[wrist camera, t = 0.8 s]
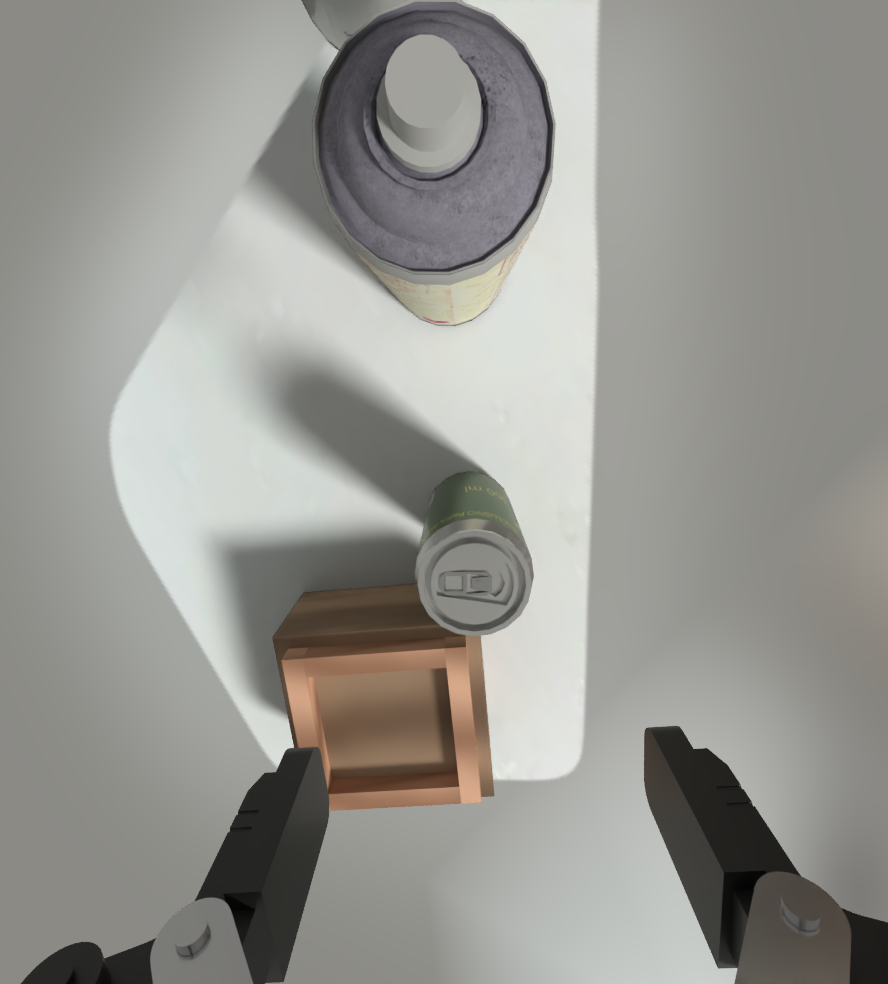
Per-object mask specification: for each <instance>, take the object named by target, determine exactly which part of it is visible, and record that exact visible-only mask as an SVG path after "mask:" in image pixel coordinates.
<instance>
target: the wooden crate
mask: <svg viewBox="0 0 888 984" xmlns="http://www.w3.org/2000/svg"><path fill="white" fill-rule="evenodd" d="M273 642H274V647H275V652H276V657H277V662H278V668H279V673H280V678H281V683H282V688H283V693H284V698H285V703H286V708H287V713H288V718H289V723H290V729H291V734H292V739H293V744H294V748H304V747H318V748H319V749H320V752H321V756H322V762H323V767H324V772H325V777H326V783H327V788H328V793H329V811H335V810H350V809H351V810H353V809H370V808H388V807H406V806H422V805H423V806H424V805H441V804H460V803H478V802H481V797H488V796H494V788H493V775H492V763H491V750H490V738H489V726H488V715H487V704H486V692H485V681H484V670H483V659H482V648H481V636H469V635H462V634H456V633H454V632H452V631H450V630H448V629H446V628H444V627H442V626H440V625H439V624H438V623H437V622H436V621H435V620H434V619H433V618H432V617H431V616H429V614H428V613H427V611H426V609H425V607H424V606H423V604H422V602H421V600H420V596H419V594H418V592H417V587H416V584H409V585H396V586H383V587H371V588H358V589H345V590H333V591H320V592H307V593H303V594H302V595H301V597H300V598H299V600H298V601H297V603H296V604H295V606H294V607H293V609H292V610H291V611H290V613H289V614H288V616H287V617H286V619H285V620H284V622H283V623H282V624H281V626H280V627H279V629H278V630H277V632H276V633H275V635H274V636H273Z"/></svg>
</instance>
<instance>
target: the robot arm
mask: <svg viewBox="0 0 888 984" xmlns="http://www.w3.org/2000/svg"><path fill="white" fill-rule="evenodd" d="M408 1H411V0H302V2H303V4H304V6H305V8H306V9H307V12H308V14H309V16H310V18H311V19H312V22H313V23H314V24H315V25H316V27H317V28H318V29H319V30H320V32H321V33H322V34H323V35H324V37H325V38H326V39H327V40H328V41H330V42H331V43H332V44H333V45H334V46H336V47H337V48H338V49H339V50H340V49H341V47H342V45H343V44H344V42H345V41H346V40H347V39H348V38H349V37H350V36H352V35H353V34H354V33H355V32H356V31H357V30H358V29H360V28H361V27H362V26H363V25H364V24H365V23H366V22H368V21H369V20H370V19H371V18H372V17H373V16H374V15H376V14H377V13H380V12H382V11H385V10H387V9H390V8H393V7H395V6H398V5H400V4H403V3H406V2H408ZM459 1H461V2H462V0H459ZM644 738H645V739H644V745H645V746H644V782H645V789H646V795H647V799H648V803H649V806H650V809H651V811H652V814H653V816H654V818H655V821H656V823H657V825H658V828H659V830H660V833H661V835H662V837H663V839H664V842H665V844H666V847H667V849H668V851H669V854H670V856H671V858H672V861H673V863H674V865H675V868H676V870H677V873H678V875H679V877H680V880H681V882H682V884H683V887H684V889H685V891H686V894H687V896H688V898H689V901H690V903H691V906H692V908H693V910H694V912H695V915H696V917H697V920H698V922H699V924H700V927H701V929H702V931H703V934H704V936H705V939H706V941H707V943H708V946H709V948H710V950H711V953H712V955H713V957H714V960H715V962H716V965H717V967H718V968H737V974H736V979H735V984H888V923H887V922H884V921H880V920H876V919H872V918H868V917H864V916H861V915H857V914H855V913H852V912H849V911H847V910H845V909H842V908H841V907H840V906H839V905H838V904H837V902H836V901H835V900H834V899H833V898H832V897H831V896H830V895H829V894H828V893H827V892H826V891H824V890H823V889H822V888H821V887H819V886H818V885H816V884H815V883H813V882H811V881H809V880H807V879H805V878H803V877H801V875H800V874H799V873H798V871H797V870H796V868H795V867H794V865H793V864H792V862H791V861H790V859H789V858H788V857H787V855H786V853H785V852H784V850H783V849H782V847H781V846H780V844H779V843H778V841H777V840H776V838H775V837H774V835H773V834H772V832H771V831H770V829H769V827H768V826H767V824H766V823H765V821H764V820H763V818H762V817H761V815H760V814H759V812H758V811H757V809H756V808H755V806H754V807H753V805H752V802H751V800H750V799H749V797H748V796H747V794H746V792H745V791H744V790H743V789H742V788H741V785H740V783H739V782H738V780H737V779H736V777H735V776H734V774H733V773H732V771H731V770H730V768H729V767H728V765H727V764H726V763H724V762H723V761H722V760H720V759H719V758H718V757H717V756H716V755H715V754H713V753H712V752H711V751H710V750H708V749H707V748H705V749H693V747H692V746H691V744H690V742H689V741H688V739H687V737H686V736H685V734H684V732H683V731H682V729H681V728H680V727H678V726H668V727H652V728H646V730H645V736H644ZM328 818H329V793H328V788H327V783H326V777H325V772H324V767H323V762H322V756H321V752H320V749H319V748H318V747H304V748H289V749H287V750H286V751H285V753H284V755H283V758H282V760H281V762H280V764H279V767H278V769H277V771H276V772H273V773H264V774H263V775H262V776H261V778H260V779H259V780H258V781H257V782H256V783H255V784H254V785H253V786H252V787H251V788H250V789H249V790H248V792H247V794H246V796H245V798H244V800H243V802H242V805H241V807H240V809H239V811H238V815H236V817H235V819H234V821H233V823H232V825H231V827H230V832H229V833H227V836H226V838H225V840H224V842H223V844H222V846H221V848H220V850H219V852H218V854H217V856H216V858H215V860H214V862H213V865H212V867H211V869H210V871H209V873H208V875H207V877H206V879H205V882H204V883H203V885H202V887H201V890H200V891H199V894H198V896H197V898H196V899H195V901H194V902H192V903H190V904H188V905H187V906H185V907H184V908H182V909H181V910H180V911H178V912H177V913H176V914H175V915H173V916H172V917H171V918H170V919H169V920H168V922H167V923H166V924H165V925H164V927H163V928H162V929H161V931H160V932H159V934H158V935H157V937H156V938H155V939H153V940H151V941H149V942H147V943H144V944H142V945H139V946H136V947H134V948H131V949H128V950H126V951H123V952H121V953H118V954H115V955H113V956H110V957H107V958H105V959H104V957H103V954H102V952H101V949H100V948H99V947H98V946H97V945H96V944H94V943H90V942H80V943H75V944H72V945H69V946H67V947H65V948H63V949H60V950H59V951H57V952H55V953H54V954H52V955H51V956H49V957H48V958H47V959H45V960H44V961H43V962H41V963H40V964H39V965H38V966H37V967H36V968H35V969H34V970H33V971H32V972H31V973H30V974H29V975H28V976H27V977H26V978H25V980H24V981H23V982H22V983H21V984H265V983H271V982H284V978H285V975H286V971H287V968H288V964H289V961H290V957H291V953H292V950H293V946H294V943H295V939H296V935H297V932H298V928H299V925H300V921H301V917H302V914H303V910H304V907H305V902H306V899H307V896H308V892H309V889H310V885H311V882H312V878H313V874H314V871H315V867H316V864H317V860H318V856H319V853H320V849H321V846H322V842H323V839H324V835H325V831H326V828H327V824H328Z"/></svg>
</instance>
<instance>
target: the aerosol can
mask: <svg viewBox="0 0 888 984" xmlns="http://www.w3.org/2000/svg"><path fill="white" fill-rule="evenodd" d="M555 125H556V124H555V119H554V115H553V110H552V105H551V101H550V96H549V92H548V87H547V82H546V80H545V78H544V76H543V74H542V73H541V71H540V69H539V67H538V65H537V64H536V62H535V60H534V58H533V57H532V55H531V53H530V51H529V49H528V48H527V46H526V44H525V43H524V42H523V41H522V40H521V39H520V38H519V37H518V36H517V35H516V34H514V33H513V32H512V31H511V30H510V29H509V28H508V27H507V26H506V25H505V24H503V23H502V22H501V21H500V20H499V19H498V18H497V17H496V16H495V15H494V14H491V13H489V12H486V11H484V10H481V9H479V8H476V7H474V6H471V5H469V4H466V3H464V2H461V1H459V0H411V1H408V2H406V3H403V4H400V5H398V6H395V7H393V8H390V9H387V10H385V11H382V12H380V13H377V14H376V15H374V16H373V17H372V18H371V19H370V20H369V21H368V22H366V23H365V24H364V25H363V26H362V27H361V28H360V29H358V30H357V31H356V32H355V33H354V34H353V35H352V36H350V37H349V38H348V39H347V40H346V41H345V42H344V44H343V45H342V47H341V49H340V50H339V52H338V54H337V55H336V57H335V59H334V60H333V62H332V64H331V65H330V67H329V69H328V71H327V72H326V74H325V76H324V77H323V80H322V84H321V88H320V92H319V96H318V100H317V104H316V108H315V112H314V116H313V120H312V129H313V157H314V167H315V170H316V173H317V176H318V179H319V182H320V185H321V189H322V192H323V195H324V198H325V201H326V204H327V207H328V210H329V214H330V217H331V218H332V220H333V221H334V223H335V224H336V225H337V227H338V228H339V230H340V231H341V233H342V234H343V236H344V237H345V239H346V240H347V242H348V243H349V245H350V246H351V248H352V249H353V250H354V251H355V252H356V253H357V254H358V256H359V257H360V258H361V259H362V260H363V261H364V262H365V263H366V264H367V265H368V267H369V268H370V269H371V270H372V271H373V272H374V273H375V274H376V275H377V276H378V278H379V279H380V280H381V281H382V282H383V283H384V284H385V285H386V286H387V287H388V288H389V290H390V291H391V292H392V293H393V294H394V295H395V296H396V297H397V298H398V299H399V301H400V302H401V303H402V304H403V305H404V306H405V307H406V308H407V309H408V310H409V311H411V312H412V313H413V314H414V315H416V316H417V317H418V318H419V319H421V320H424V321H426V322H429V323H432V324H435V325H437V326H456V325H459V324H462V323H466V322H469V321H472V320H473V319H475V318H476V317H477V316H479V315H480V314H482V313H483V312H484V311H486V310H487V309H488V307H489V306H490V305H491V303H492V302H493V300H494V299H495V298H496V296H497V295H498V293H499V291H500V290H501V288H502V286H503V284H504V282H505V280H506V278H507V277H508V275H509V273H510V271H511V269H512V267H513V265H514V263H515V262H516V260H517V258H518V256H519V254H520V252H521V250H522V249H523V247H524V245H525V243H526V241H527V239H528V237H529V235H530V234H531V232H532V230H533V228H534V226H535V224H536V222H537V220H538V218H539V215H540V212H541V210H542V207H543V204H544V201H545V198H546V196H547V193H548V190H549V187H550V185H551V182H552V169H553V155H554V140H555Z"/></svg>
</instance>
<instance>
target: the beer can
mask: <svg viewBox="0 0 888 984" xmlns="http://www.w3.org/2000/svg"><path fill="white" fill-rule="evenodd" d="M414 576H415V581H416V587H417V592H418V594H419V596H420V600H421V602H422V604H423V606H424V607H425V609H426V611H427V613H428V614H429V616H431V617H432V618H433V619H434V620H435V621H436V622H437V623H438V624H439V625H440V626H442V627H444V628H446V629H448V630H450V631H452V632H454V633H456V634H462V635H469V636H480V635H488V634H492V633H495V632H497V631H499V630H501V629H504V628H506V627H508V626H509V625H510V624H511V623H512V622H513V621H514V620H516V619H517V618H518V617H519V616H520V615H521V613H522V611H523V610H524V608H525V606H526V605H527V603H528V601H529V596H530V591H531V587H532V582H533V577H534V574H533V566H532V559H531V556H530V553H529V551H528V548H527V545H526V543H525V540H524V537H523V535H522V532H521V529H520V527H519V524H518V521H517V519H516V516H515V513H514V511H513V508H512V506H511V503H510V500H509V498H508V496H507V494H506V492H505V490H504V488H503V487H502V486H501V485H500V484H499V483H498V482H497V481H496V480H495V479H493V478H491V477H489V476H487V475H485V474H483V473H476V472H470V471H469V472H463V473H457V474H454V475H452V476H450V477H448V478H446V479H445V480H444V481H443V482H442V483H441V484H439V485H438V486H437V487H436V488H435V490H434V492H433V494H432V496H431V498H430V501H429V505H428V510H427V514H426V519H425V523H424V528H423V532H422V537H421V542H420V546H419V551H418V555H417V561H416V567H415V574H414Z"/></svg>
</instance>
